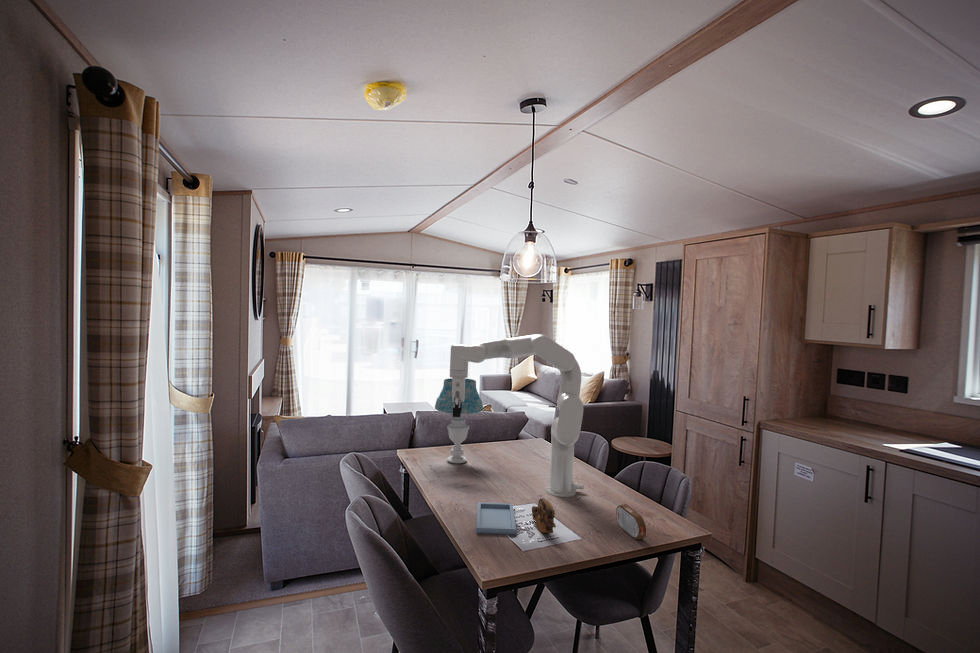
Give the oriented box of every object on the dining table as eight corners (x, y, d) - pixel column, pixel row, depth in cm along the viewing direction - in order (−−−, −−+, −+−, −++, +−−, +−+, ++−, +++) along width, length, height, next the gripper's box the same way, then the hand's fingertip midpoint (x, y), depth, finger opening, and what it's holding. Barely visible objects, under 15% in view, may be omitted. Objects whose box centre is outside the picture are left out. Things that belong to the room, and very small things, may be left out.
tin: (646, 543, 152) (647, 518, 152) (638, 544, 152) (639, 519, 151) (621, 523, 167) (622, 500, 167) (613, 524, 166) (615, 500, 166)
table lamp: (484, 455, 241) (487, 378, 240) (476, 470, 217) (479, 385, 216) (439, 451, 244) (442, 376, 243) (426, 465, 221) (430, 382, 220)
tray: (512, 508, 176) (512, 503, 176) (515, 535, 154) (516, 529, 154) (477, 507, 176) (477, 502, 175) (476, 533, 154) (476, 527, 154)
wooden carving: (526, 520, 166) (527, 492, 166) (538, 519, 168) (539, 491, 167) (547, 542, 151) (548, 511, 150) (559, 540, 152) (561, 510, 152)
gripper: (467, 376, 185) (465, 419, 185) (468, 371, 202) (466, 410, 203) (448, 376, 185) (446, 418, 185) (451, 370, 202) (449, 409, 202)
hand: (457, 414), depth 194 cm, fingers open, 9 cm apart
